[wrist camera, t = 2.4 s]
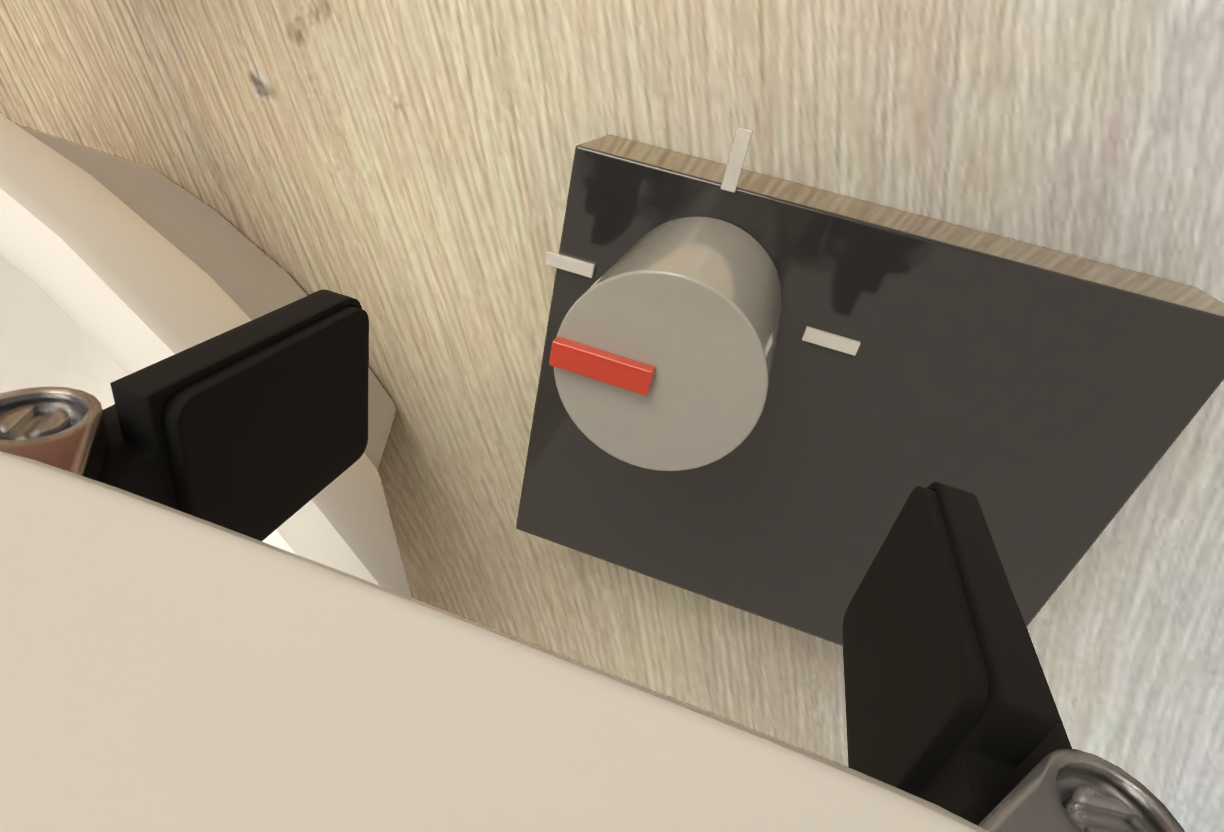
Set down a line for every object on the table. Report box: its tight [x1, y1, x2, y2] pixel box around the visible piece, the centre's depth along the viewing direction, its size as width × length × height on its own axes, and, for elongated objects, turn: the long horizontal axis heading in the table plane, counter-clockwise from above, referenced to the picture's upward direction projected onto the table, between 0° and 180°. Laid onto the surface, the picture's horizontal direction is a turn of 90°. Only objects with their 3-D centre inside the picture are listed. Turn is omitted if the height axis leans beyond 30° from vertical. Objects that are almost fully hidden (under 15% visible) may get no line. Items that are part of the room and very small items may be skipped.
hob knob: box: [549, 216, 782, 471], centre depth 15 cm, size 4×4×5 cm
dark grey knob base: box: [516, 127, 1224, 646], centre depth 19 cm, size 16×14×3 cm
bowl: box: [0, 114, 412, 598], centre depth 23 cm, size 24×25×10 cm
